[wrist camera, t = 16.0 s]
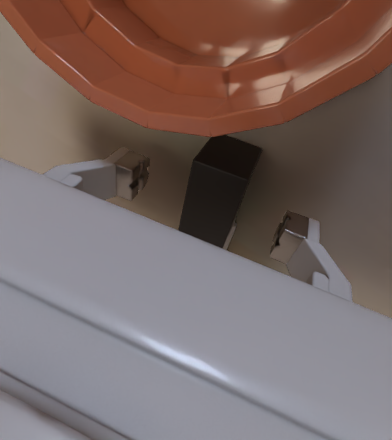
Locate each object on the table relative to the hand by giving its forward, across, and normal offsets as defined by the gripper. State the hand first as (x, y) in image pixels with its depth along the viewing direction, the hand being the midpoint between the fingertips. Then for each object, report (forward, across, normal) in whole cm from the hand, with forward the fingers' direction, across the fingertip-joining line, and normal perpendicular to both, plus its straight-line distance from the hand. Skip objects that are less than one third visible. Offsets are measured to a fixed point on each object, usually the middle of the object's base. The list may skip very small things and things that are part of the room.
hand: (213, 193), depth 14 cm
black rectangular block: (+2, 0, +2) cm, 3 cm away
